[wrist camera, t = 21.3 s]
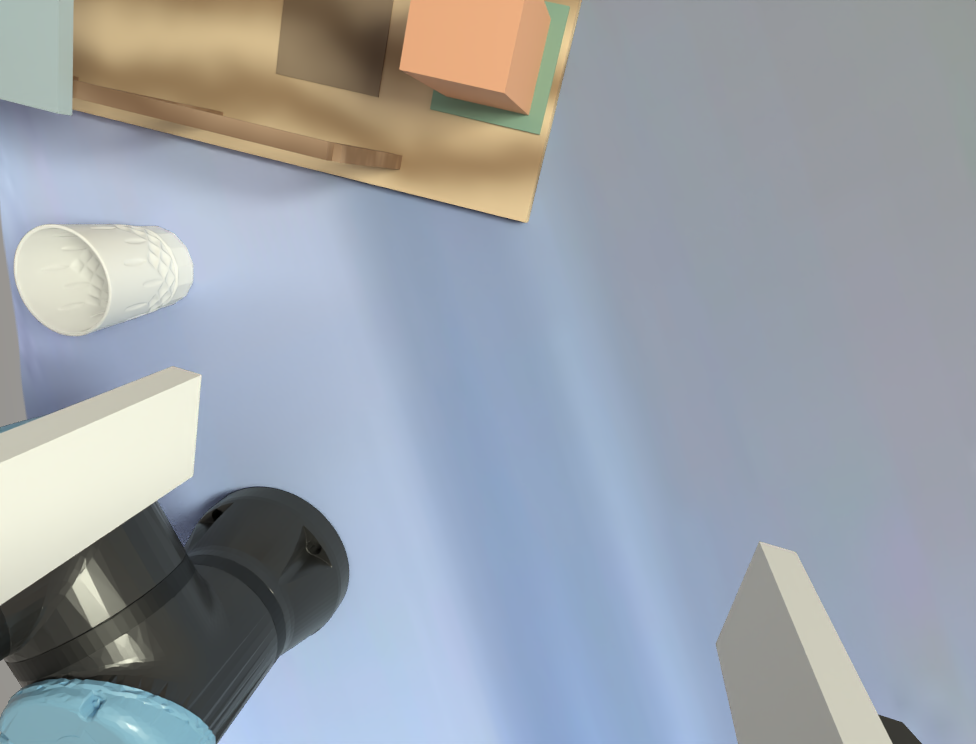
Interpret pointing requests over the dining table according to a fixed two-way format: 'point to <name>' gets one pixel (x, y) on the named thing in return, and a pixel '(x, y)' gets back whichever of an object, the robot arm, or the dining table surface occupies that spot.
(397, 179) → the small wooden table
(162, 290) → the white cup
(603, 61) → the dining table surface
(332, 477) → the dining table surface
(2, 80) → the lid
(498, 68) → the block
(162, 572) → the robot arm
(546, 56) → the felt pad
